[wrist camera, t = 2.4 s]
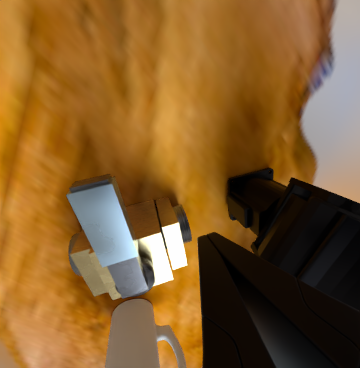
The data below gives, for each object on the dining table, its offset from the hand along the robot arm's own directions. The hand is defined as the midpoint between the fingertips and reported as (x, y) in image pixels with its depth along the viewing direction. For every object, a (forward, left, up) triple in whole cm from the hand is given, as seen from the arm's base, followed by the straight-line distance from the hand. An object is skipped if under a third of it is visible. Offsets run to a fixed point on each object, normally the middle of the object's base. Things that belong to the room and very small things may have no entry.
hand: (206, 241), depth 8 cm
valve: (+5, +7, -13) cm, 15 cm away
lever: (+5, +3, -6) cm, 8 cm away
